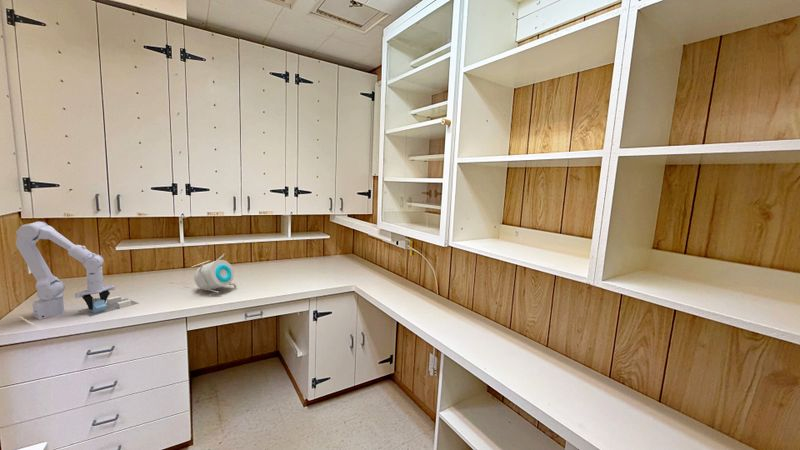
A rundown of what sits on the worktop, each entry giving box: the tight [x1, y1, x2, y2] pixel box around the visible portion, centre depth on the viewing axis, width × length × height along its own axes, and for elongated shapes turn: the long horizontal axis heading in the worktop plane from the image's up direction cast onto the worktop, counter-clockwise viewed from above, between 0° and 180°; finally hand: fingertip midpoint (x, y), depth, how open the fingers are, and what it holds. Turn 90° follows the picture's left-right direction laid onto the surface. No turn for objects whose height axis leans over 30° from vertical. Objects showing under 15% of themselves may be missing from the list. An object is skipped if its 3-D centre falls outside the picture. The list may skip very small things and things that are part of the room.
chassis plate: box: [77, 295, 140, 317], centre depth 163 cm, size 20×12×4 cm, turn 155°
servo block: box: [85, 297, 107, 313], centre depth 159 cm, size 4×10×6 cm, turn 65°
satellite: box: [191, 253, 238, 296], centre depth 196 cm, size 23×20×25 cm
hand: (96, 307), depth 159 cm, fingers closed on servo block, 4 cm apart
